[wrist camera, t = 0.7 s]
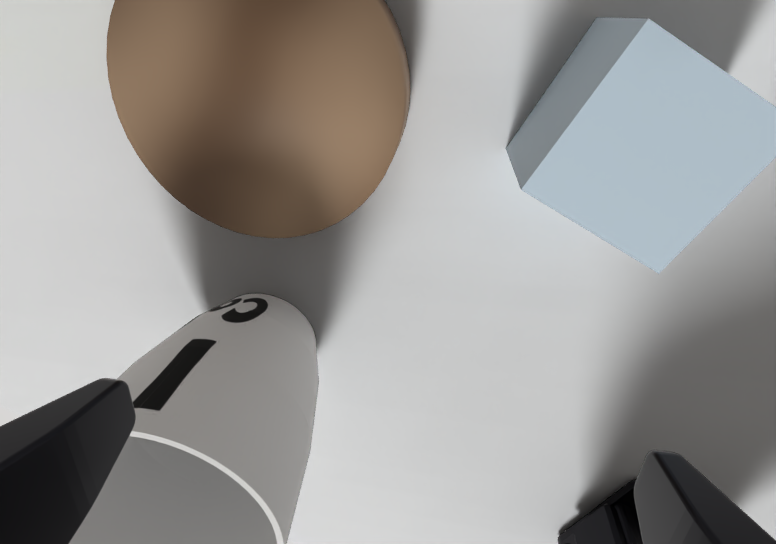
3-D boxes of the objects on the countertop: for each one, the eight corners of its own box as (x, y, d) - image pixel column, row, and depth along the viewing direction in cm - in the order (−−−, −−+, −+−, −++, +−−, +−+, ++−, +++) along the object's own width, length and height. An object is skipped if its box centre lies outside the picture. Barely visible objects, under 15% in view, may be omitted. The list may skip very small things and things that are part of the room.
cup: (280, 234, 21) (154, 390, 12) (379, 368, 24) (334, 573, 15) (153, 308, 24) (-23, 479, 15) (255, 420, 27) (157, 620, 18)
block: (714, 97, 17) (805, 127, 12) (612, 214, 19) (658, 273, 15) (596, 17, 16) (648, 18, 12) (505, 147, 18) (521, 189, 14)
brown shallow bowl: (464, 33, 17) (465, 35, 14) (336, 255, 21) (322, 282, 19) (195, -142, 15) (151, -168, 13) (121, 135, 20) (79, 150, 18)
